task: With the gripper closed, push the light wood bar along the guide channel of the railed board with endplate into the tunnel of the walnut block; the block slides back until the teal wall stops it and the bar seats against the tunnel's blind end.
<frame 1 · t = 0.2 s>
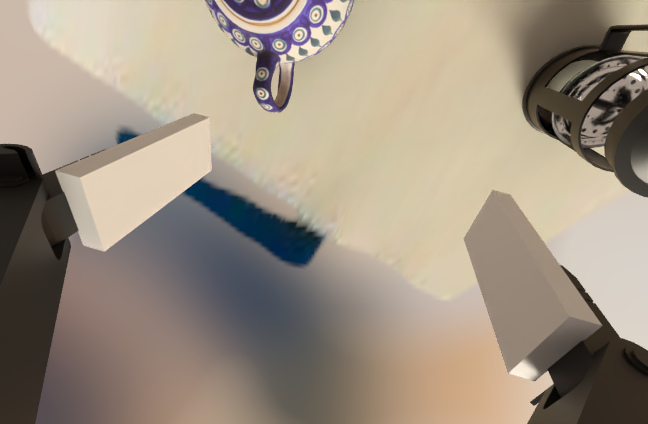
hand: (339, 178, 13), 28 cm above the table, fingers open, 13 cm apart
french press: (571, 88, 32), on the table
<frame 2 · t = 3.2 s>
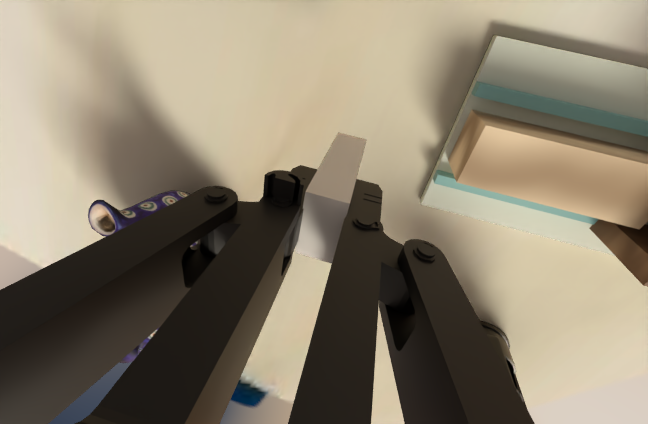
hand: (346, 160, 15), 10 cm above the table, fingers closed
french press: (465, 339, 35), on the table
light wood bar: (539, 155, 21), point 1 cm above the table, touching railed board with endplate
railed board with endplate: (643, 178, 21), on the table
teapot: (211, 242, 35), on the table
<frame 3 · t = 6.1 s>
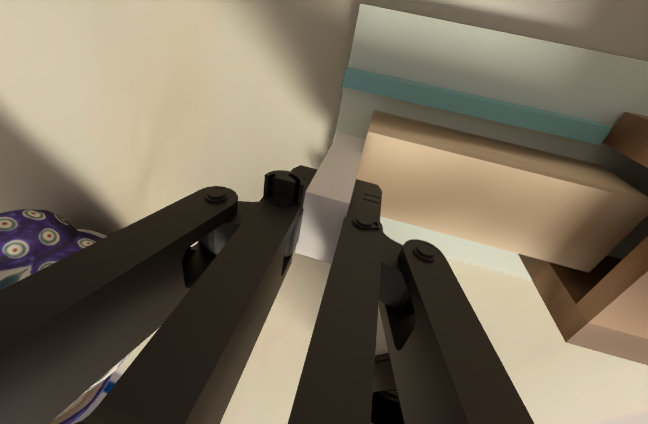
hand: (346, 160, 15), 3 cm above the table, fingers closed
french press: (404, 375, 30), on the table
light wood bar: (466, 170, 16), point 1 cm above the table, touching gripper
railed board with endplate: (580, 191, 17), on the table
teapot: (109, 264, 30), on the table
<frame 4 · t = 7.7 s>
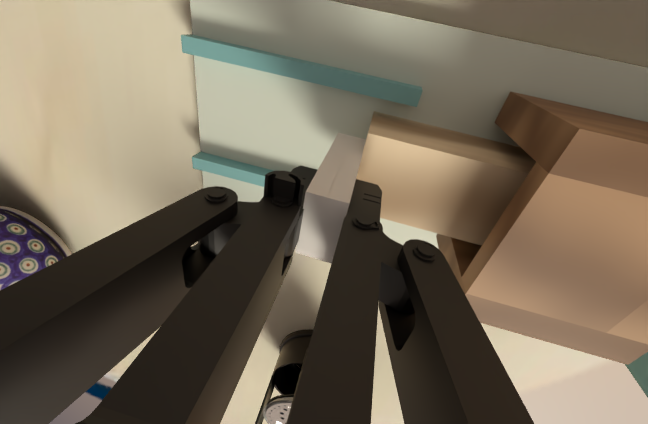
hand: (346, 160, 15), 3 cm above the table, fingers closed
french press: (323, 353, 31), on the table
light wood bar: (466, 171, 16), point 1 cm above the table, touching block, gripper
railed board with endplate: (430, 159, 17), on the table
block: (567, 224, 13), point 4 cm above the table, slide at 3.5 cm, touching light wood bar
teapot: (34, 243, 31), on the table
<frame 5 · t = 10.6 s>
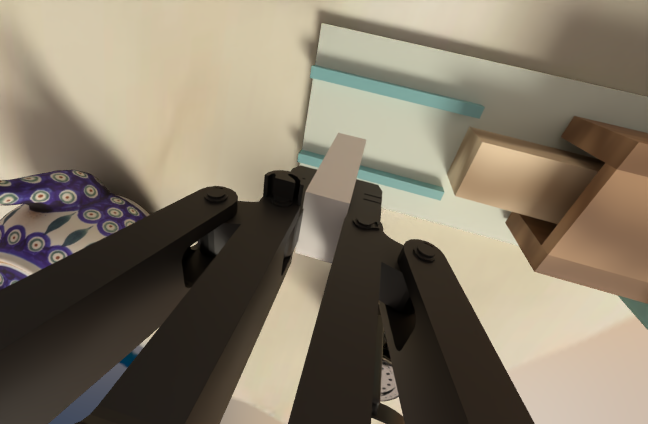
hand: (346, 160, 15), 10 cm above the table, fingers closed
french press: (371, 325, 36), on the table
light wood bar: (535, 171, 22), point 1 cm above the table, touching block, railed board with endplate
railed board with endplate: (481, 157, 23), on the table
block: (616, 209, 19), point 4 cm above the table, slide at 5.4 cm, touching light wood bar
teapot: (129, 226, 37), on the table
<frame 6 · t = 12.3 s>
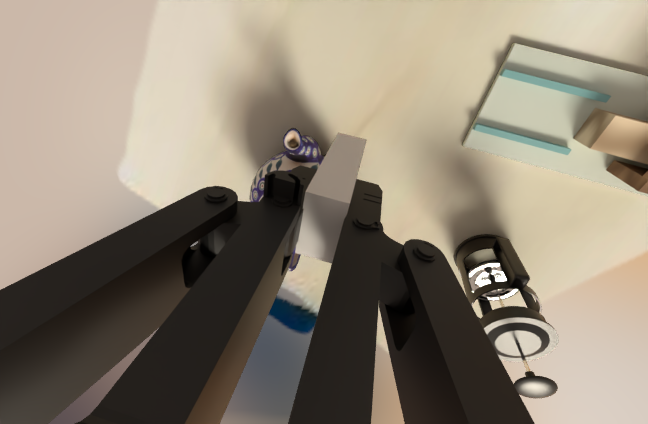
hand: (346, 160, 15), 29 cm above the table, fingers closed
french press: (483, 253, 51), on the table
light wood bar: (631, 136, 36), point 1 cm above the table, touching block, railed board with endplate
railed board with endplate: (596, 127, 37), on the table
teapot: (308, 181, 50), on the table
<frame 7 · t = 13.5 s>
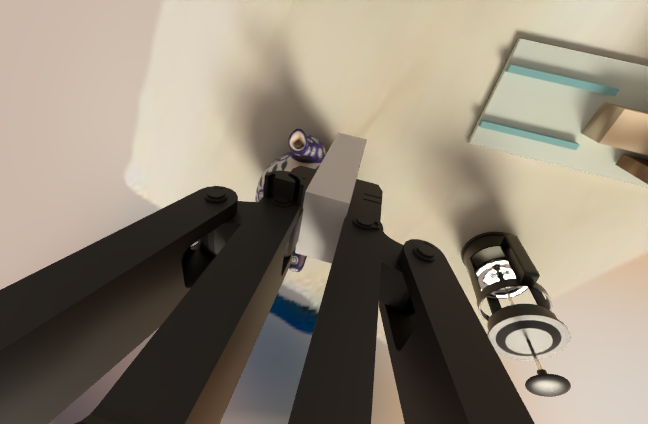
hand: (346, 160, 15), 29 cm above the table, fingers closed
french press: (491, 250, 50), on the table
light wood bar: (641, 129, 36), point 1 cm above the table, touching block, railed board with endplate
railed board with endplate: (604, 121, 37), on the table
teapot: (313, 182, 50), on the table
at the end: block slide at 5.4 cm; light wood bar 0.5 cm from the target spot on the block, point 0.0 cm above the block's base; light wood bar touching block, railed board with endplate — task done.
